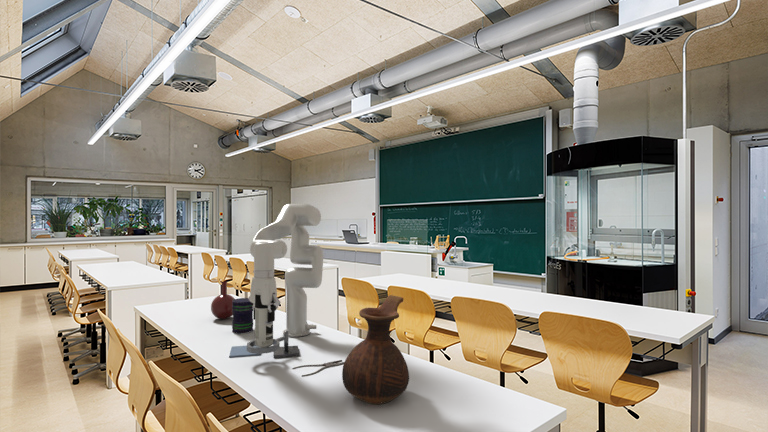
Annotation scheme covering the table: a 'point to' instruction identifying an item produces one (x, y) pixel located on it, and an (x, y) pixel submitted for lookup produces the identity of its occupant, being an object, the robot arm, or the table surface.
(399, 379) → the jug
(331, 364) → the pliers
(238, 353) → the mat
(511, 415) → the table surface
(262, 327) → the spray can
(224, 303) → the round-bottom flask
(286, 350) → the ring stand
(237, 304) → the storage jar
